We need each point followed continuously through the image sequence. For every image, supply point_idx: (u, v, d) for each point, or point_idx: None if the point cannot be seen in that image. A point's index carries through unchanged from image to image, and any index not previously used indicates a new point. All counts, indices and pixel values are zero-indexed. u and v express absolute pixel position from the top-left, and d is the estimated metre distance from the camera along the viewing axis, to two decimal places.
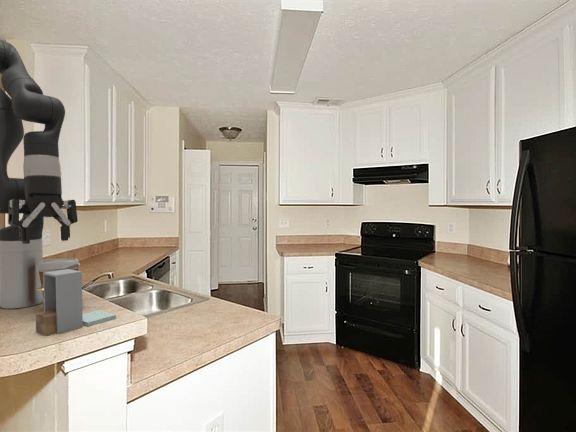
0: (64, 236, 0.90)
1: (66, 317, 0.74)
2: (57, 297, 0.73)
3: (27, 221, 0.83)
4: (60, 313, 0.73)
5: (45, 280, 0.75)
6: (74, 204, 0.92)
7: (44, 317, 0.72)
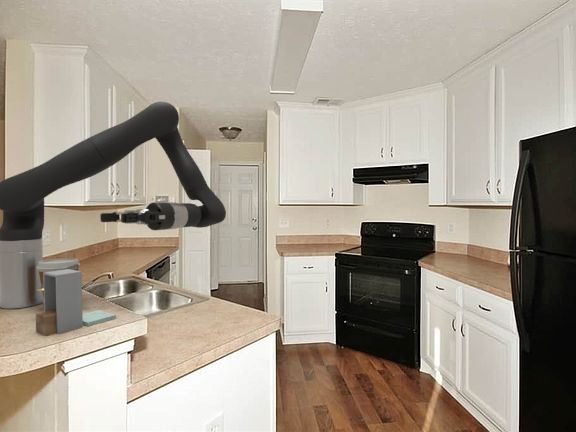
0: (106, 220, 0.88)
1: (66, 317, 0.74)
2: (57, 297, 0.73)
3: None
4: (60, 313, 0.73)
5: (45, 280, 0.75)
6: None
7: (44, 317, 0.72)
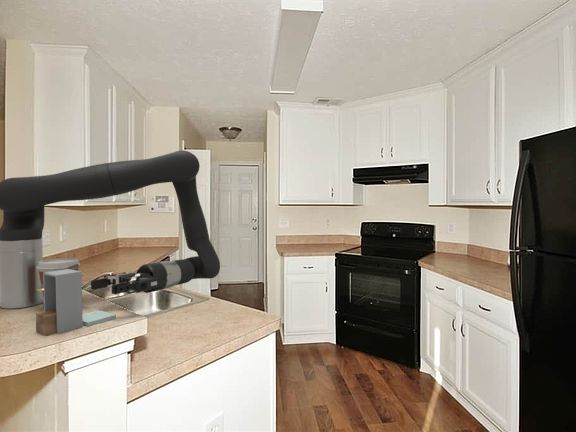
0: (96, 287, 0.86)
1: (66, 317, 0.74)
2: (57, 297, 0.73)
3: None
4: (60, 313, 0.73)
5: (45, 280, 0.75)
6: None
7: (44, 317, 0.72)
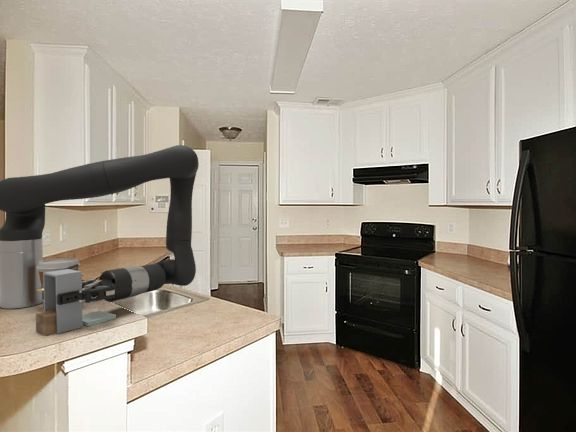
0: None
1: (66, 317, 0.74)
2: None
3: None
4: (60, 313, 0.73)
5: (45, 280, 0.75)
6: None
7: (44, 317, 0.72)
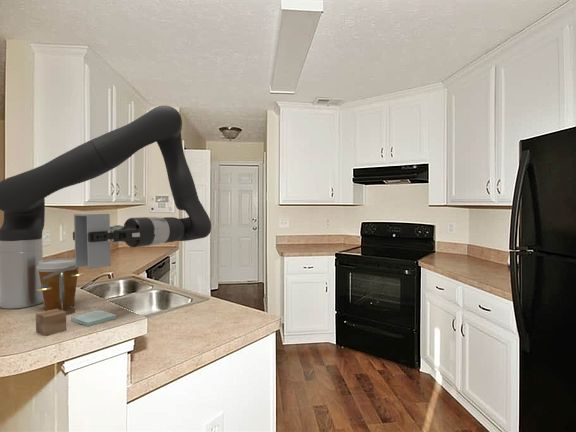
0: None
1: (96, 255, 0.79)
2: None
3: (111, 240, 0.82)
4: (91, 250, 0.78)
5: (76, 221, 0.81)
6: None
7: (44, 317, 0.72)
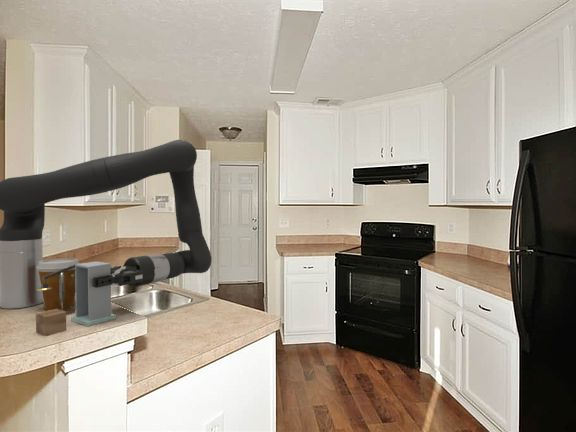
0: None
1: (97, 306, 0.80)
2: (89, 287, 0.78)
3: None
4: (92, 302, 0.79)
5: (77, 271, 0.81)
6: None
7: (44, 317, 0.72)
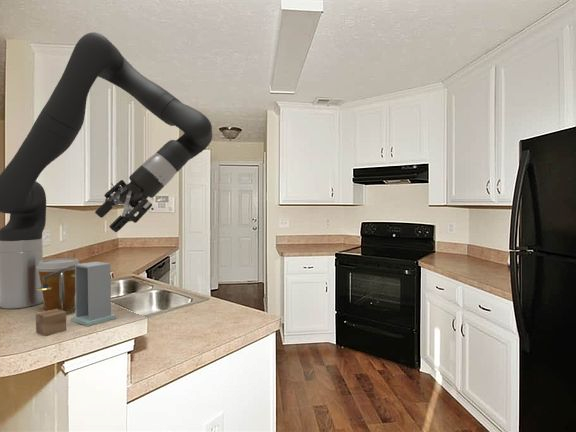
0: (103, 214, 0.89)
1: (97, 306, 0.80)
2: (89, 287, 0.78)
3: None
4: (92, 302, 0.79)
5: (77, 271, 0.81)
6: None
7: (44, 317, 0.72)
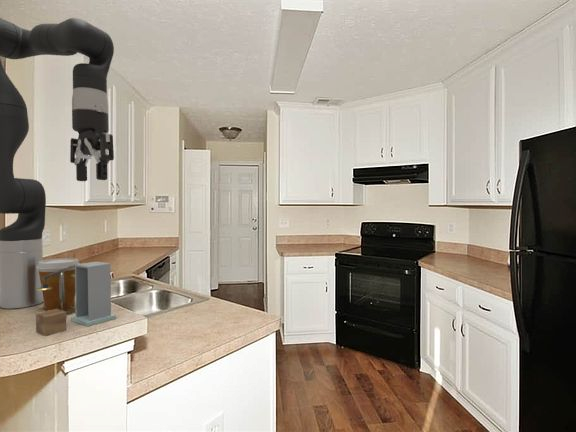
0: (85, 176, 0.87)
1: (97, 306, 0.80)
2: (89, 287, 0.78)
3: None
4: (92, 302, 0.79)
5: (77, 271, 0.81)
6: None
7: (44, 317, 0.72)
